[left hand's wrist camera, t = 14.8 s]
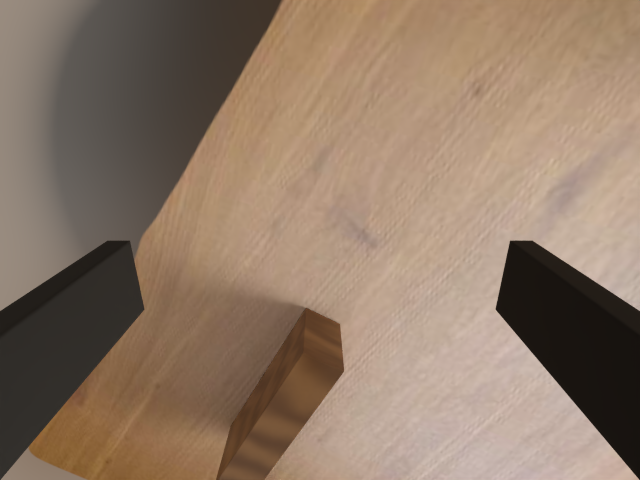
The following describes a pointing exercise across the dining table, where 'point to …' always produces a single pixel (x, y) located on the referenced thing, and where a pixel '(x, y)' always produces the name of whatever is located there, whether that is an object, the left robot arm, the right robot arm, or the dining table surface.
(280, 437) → the bar
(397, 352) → the dining table surface
